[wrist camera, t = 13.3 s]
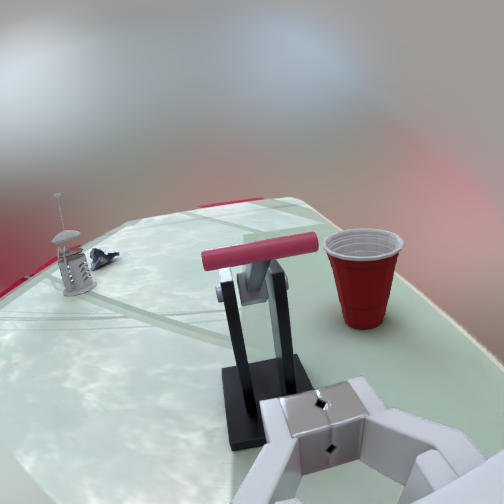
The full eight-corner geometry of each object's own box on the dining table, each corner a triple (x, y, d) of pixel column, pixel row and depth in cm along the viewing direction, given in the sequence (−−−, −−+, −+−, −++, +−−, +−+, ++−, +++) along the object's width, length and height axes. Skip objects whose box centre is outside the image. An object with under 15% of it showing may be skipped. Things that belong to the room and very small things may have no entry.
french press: (100, 278, 80) (79, 186, 73) (90, 294, 69) (64, 190, 62) (69, 285, 78) (47, 195, 71) (56, 301, 68) (29, 200, 60)
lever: (323, 260, 16) (312, 217, 17) (205, 281, 16) (198, 235, 16) (287, 297, 29) (281, 272, 29) (220, 310, 28) (215, 283, 29)
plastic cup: (335, 347, 39) (332, 256, 35) (320, 309, 49) (315, 233, 46) (413, 331, 38) (418, 244, 35) (385, 298, 48) (385, 224, 45)
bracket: (329, 430, 26) (325, 283, 22) (231, 451, 25) (192, 308, 21) (297, 361, 37) (285, 242, 33) (223, 375, 36) (197, 257, 32)
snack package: (79, 269, 93) (95, 272, 87) (77, 249, 92) (92, 250, 86) (109, 263, 103) (127, 265, 96) (107, 244, 102) (125, 244, 95)
